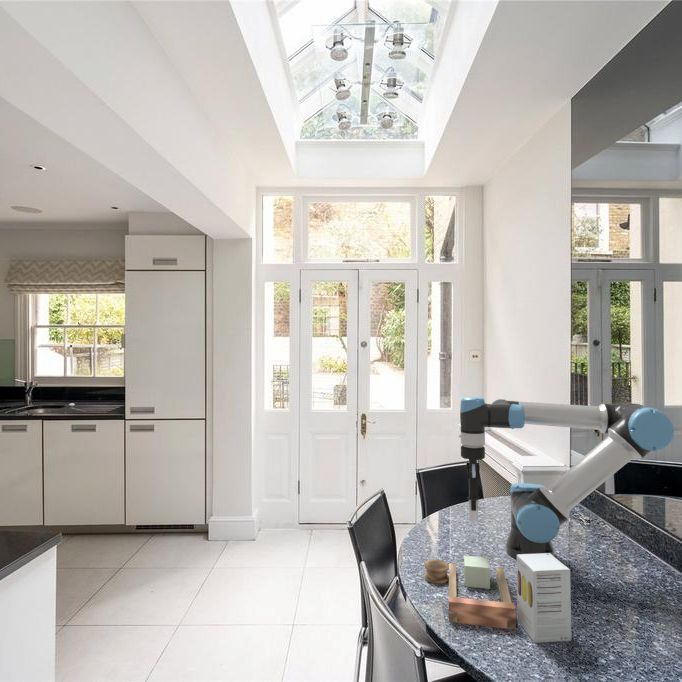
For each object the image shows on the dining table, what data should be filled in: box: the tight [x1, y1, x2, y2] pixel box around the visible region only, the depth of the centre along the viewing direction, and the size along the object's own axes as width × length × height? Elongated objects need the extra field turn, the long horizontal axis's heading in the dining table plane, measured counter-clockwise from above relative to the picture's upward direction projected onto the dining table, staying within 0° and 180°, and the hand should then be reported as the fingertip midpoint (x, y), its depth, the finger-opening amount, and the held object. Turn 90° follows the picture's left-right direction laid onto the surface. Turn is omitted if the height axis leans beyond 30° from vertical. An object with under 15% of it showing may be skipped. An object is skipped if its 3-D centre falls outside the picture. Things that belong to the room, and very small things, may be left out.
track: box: [448, 563, 517, 630], centre depth 130 cm, size 16×28×5 cm, turn 167°
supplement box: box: [516, 553, 572, 644], centre depth 115 cm, size 10×9×17 cm
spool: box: [423, 558, 449, 585], centre depth 142 cm, size 7×7×4 cm
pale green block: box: [463, 555, 491, 590], centre depth 139 cm, size 7×7×6 cm
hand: (473, 519), depth 150 cm, fingers closed
